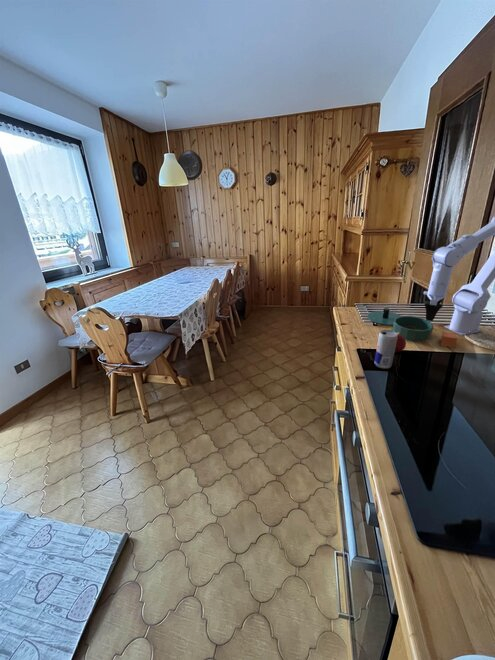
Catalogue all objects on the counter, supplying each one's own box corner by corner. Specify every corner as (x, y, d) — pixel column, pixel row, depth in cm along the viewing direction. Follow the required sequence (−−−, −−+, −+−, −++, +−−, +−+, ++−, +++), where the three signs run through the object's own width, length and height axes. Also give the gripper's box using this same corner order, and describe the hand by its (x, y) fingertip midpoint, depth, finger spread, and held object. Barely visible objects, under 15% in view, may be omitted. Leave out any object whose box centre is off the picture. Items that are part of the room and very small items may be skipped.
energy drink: (377, 358, 99) (382, 328, 93) (393, 363, 96) (400, 332, 90) (372, 365, 95) (377, 334, 90) (388, 371, 92) (395, 339, 87)
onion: (405, 357, 99) (410, 337, 95) (388, 356, 100) (392, 336, 96) (401, 348, 104) (405, 329, 100) (384, 347, 105) (388, 328, 101)
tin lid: (387, 311, 133) (389, 301, 131) (410, 323, 121) (413, 312, 119) (360, 316, 130) (362, 305, 128) (381, 329, 118) (383, 318, 116)
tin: (411, 324, 120) (414, 313, 118) (438, 338, 108) (441, 327, 106) (384, 330, 117) (386, 319, 115) (409, 345, 105) (412, 333, 103)
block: (440, 341, 107) (443, 331, 105) (453, 343, 105) (456, 333, 103) (440, 345, 104) (443, 336, 102) (453, 348, 102) (456, 338, 100)
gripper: (429, 275, 108) (421, 308, 114) (423, 286, 98) (415, 321, 104) (451, 277, 104) (442, 311, 110) (448, 289, 94) (438, 325, 100)
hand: (430, 316), depth 107 cm, fingers open, 7 cm apart
